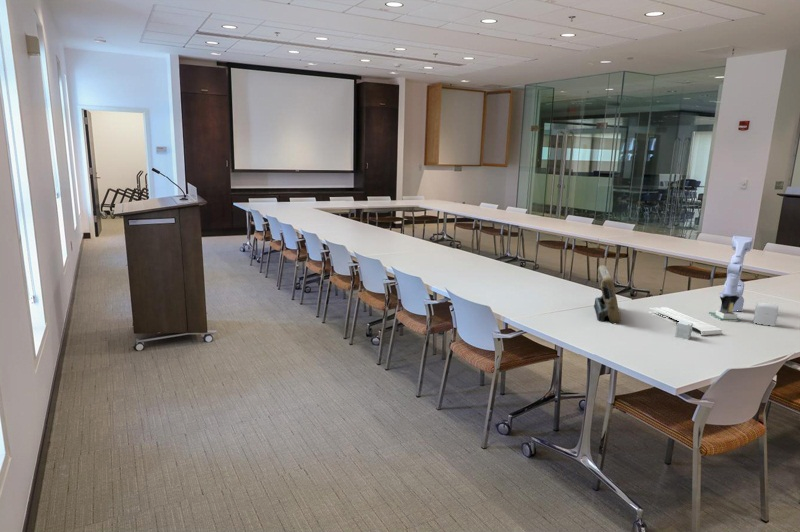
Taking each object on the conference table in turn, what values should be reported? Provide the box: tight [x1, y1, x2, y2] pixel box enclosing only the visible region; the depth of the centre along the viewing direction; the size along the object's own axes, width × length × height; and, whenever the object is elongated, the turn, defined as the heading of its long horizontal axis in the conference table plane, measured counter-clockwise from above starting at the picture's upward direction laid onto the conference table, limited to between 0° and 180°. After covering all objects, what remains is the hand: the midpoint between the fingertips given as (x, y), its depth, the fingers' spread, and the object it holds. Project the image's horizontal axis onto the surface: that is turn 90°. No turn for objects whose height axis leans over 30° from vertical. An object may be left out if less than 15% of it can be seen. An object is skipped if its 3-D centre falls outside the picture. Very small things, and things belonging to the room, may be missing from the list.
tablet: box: [593, 264, 621, 325], centre depth 287 cm, size 33×14×25 cm, turn 169°
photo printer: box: [752, 301, 779, 327], centre depth 282 cm, size 10×4×12 cm, turn 66°
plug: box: [719, 301, 734, 313], centre depth 290 cm, size 4×4×6 cm
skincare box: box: [674, 320, 694, 341], centre depth 258 cm, size 6×6×7 cm
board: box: [708, 309, 742, 321], centre depth 293 cm, size 11×12×4 cm
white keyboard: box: [647, 306, 723, 337], centre depth 280 cm, size 12×4×40 cm
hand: (727, 308), depth 290 cm, fingers closed on plug, 4 cm apart
